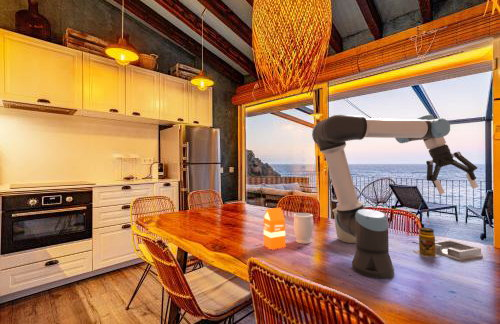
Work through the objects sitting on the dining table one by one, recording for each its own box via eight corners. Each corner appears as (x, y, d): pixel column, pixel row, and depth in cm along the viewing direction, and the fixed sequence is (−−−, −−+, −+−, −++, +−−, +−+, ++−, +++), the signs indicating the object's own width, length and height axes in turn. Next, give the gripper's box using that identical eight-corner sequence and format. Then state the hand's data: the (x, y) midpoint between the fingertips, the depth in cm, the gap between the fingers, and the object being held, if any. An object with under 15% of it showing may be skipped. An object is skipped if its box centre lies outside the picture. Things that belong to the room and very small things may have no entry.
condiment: (425, 257, 111) (424, 230, 111) (412, 250, 120) (411, 226, 120) (441, 257, 112) (440, 230, 112) (426, 250, 120) (426, 225, 120)
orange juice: (263, 245, 132) (263, 207, 132) (277, 242, 135) (277, 206, 135) (271, 249, 124) (270, 210, 125) (285, 247, 128) (285, 208, 128)
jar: (316, 241, 137) (316, 214, 137) (307, 245, 129) (306, 217, 130) (300, 237, 144) (299, 211, 144) (290, 241, 137) (289, 214, 137)
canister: (358, 248, 124) (357, 206, 124) (326, 240, 138) (325, 202, 138) (373, 240, 136) (373, 202, 136) (343, 234, 150) (342, 199, 150)
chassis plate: (458, 260, 107) (458, 252, 107) (428, 250, 120) (428, 242, 120) (482, 256, 111) (482, 248, 111) (450, 246, 124) (450, 239, 124)
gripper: (472, 135, 105) (496, 182, 100) (417, 154, 127) (435, 193, 123) (462, 137, 102) (486, 187, 97) (407, 156, 124) (425, 197, 120)
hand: (457, 190), depth 110 cm, fingers open, 13 cm apart
